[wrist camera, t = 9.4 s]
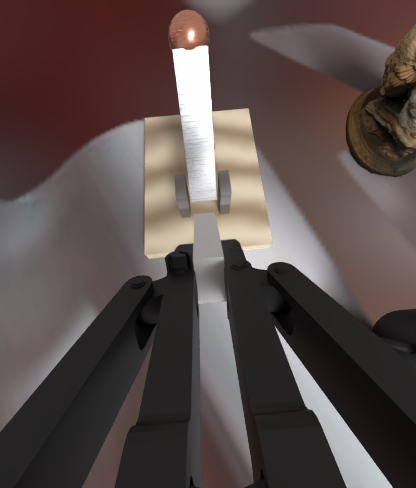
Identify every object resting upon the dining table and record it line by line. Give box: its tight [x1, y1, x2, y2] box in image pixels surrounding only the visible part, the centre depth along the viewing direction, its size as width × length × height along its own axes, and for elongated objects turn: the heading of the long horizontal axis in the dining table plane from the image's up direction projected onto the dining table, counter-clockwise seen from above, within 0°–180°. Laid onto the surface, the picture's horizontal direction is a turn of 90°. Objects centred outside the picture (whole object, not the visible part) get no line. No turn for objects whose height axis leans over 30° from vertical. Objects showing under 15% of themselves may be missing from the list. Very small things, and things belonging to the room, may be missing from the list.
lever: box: [169, 10, 217, 202], centre depth 25 cm, size 4×4×17 cm
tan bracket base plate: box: [145, 108, 273, 258], centre depth 32 cm, size 22×16×7 cm
